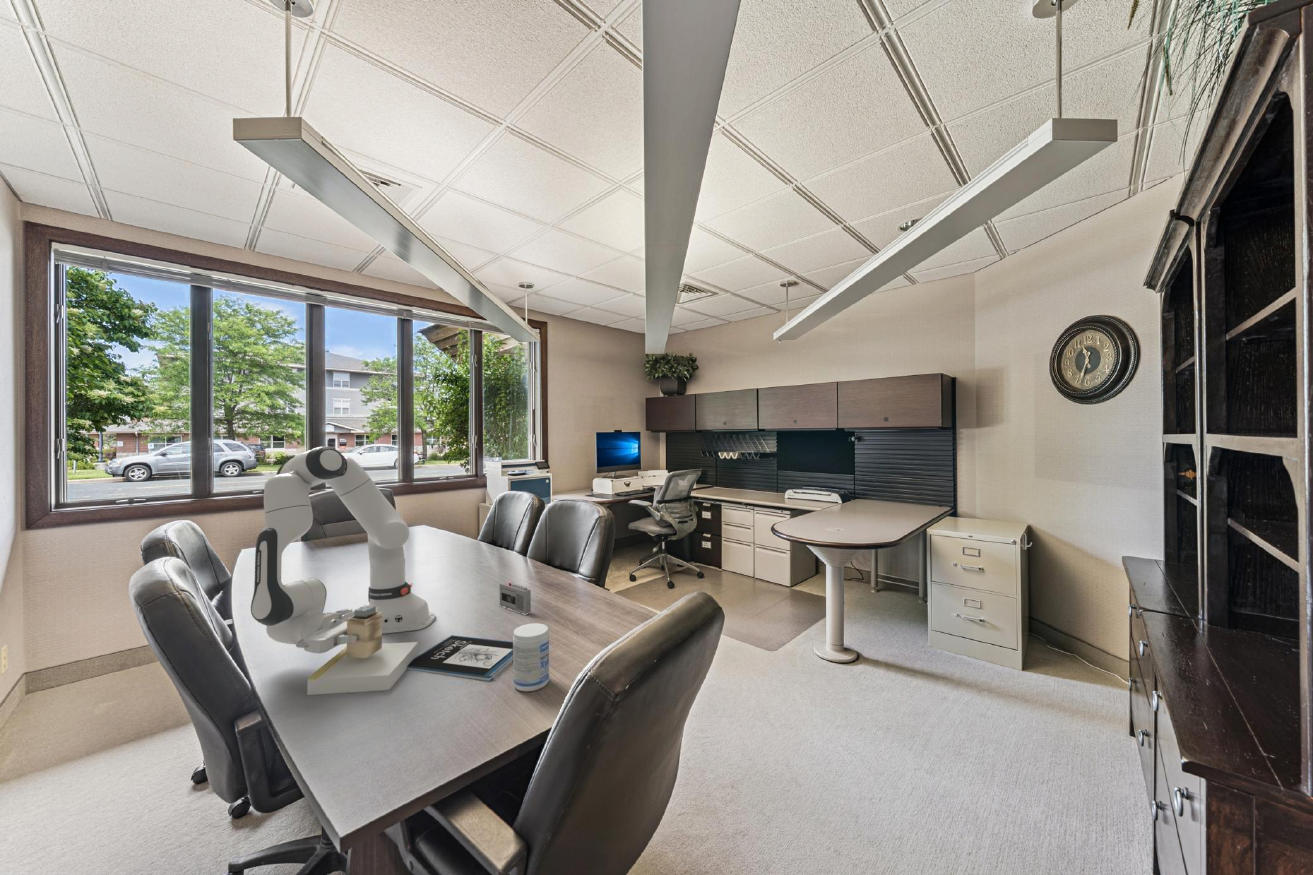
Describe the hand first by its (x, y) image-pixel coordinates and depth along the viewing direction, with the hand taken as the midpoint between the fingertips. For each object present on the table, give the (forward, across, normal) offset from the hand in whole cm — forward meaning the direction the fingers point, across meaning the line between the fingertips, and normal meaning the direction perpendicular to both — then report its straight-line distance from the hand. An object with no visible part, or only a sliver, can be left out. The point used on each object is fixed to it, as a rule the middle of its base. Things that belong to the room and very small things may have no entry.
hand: (367, 633), depth 132 cm
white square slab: (0, 0, +11) cm, 11 cm away
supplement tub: (+48, +2, +11) cm, 50 cm away
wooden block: (-1, 0, +6) cm, 6 cm away
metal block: (-1, 0, -4) cm, 4 cm away
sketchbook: (+24, +13, +12) cm, 30 cm away
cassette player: (+20, +52, +11) cm, 57 cm away
